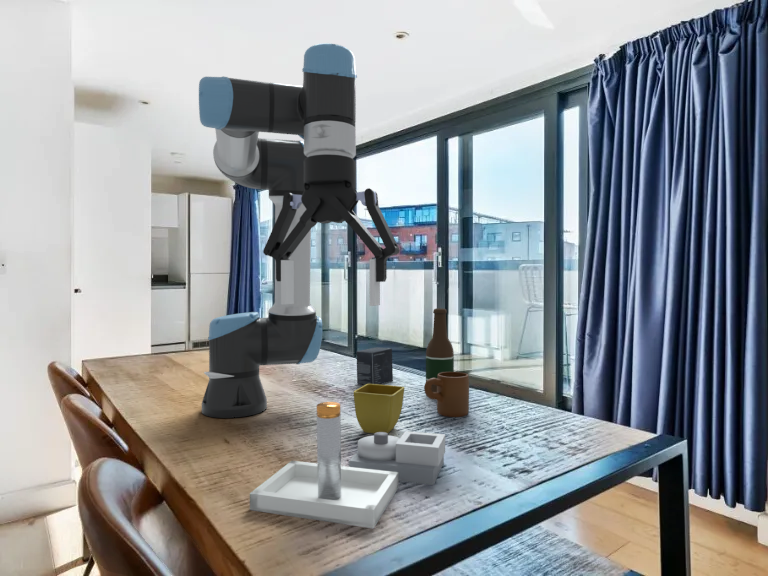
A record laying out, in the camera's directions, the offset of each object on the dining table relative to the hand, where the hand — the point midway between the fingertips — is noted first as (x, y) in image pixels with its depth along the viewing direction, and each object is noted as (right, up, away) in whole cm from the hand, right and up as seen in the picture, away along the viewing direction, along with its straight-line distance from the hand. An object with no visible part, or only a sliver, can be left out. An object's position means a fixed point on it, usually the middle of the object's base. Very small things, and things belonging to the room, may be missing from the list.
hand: (330, 305), depth 73 cm
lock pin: (0, -28, 0) cm, 28 cm away
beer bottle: (+23, -27, +65) cm, 74 cm away
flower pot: (+7, -28, +33) cm, 44 cm away
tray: (0, -28, 0) cm, 28 cm away
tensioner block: (+10, -28, +12) cm, 32 cm away
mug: (+22, -28, +46) cm, 58 cm away
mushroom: (-30, -28, +47) cm, 62 cm away
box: (+5, -27, +81) cm, 86 cm away
